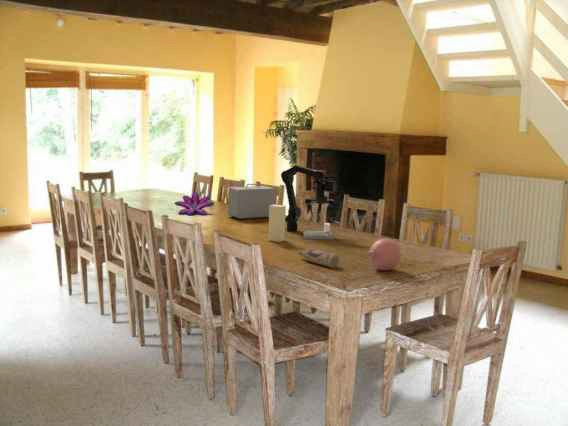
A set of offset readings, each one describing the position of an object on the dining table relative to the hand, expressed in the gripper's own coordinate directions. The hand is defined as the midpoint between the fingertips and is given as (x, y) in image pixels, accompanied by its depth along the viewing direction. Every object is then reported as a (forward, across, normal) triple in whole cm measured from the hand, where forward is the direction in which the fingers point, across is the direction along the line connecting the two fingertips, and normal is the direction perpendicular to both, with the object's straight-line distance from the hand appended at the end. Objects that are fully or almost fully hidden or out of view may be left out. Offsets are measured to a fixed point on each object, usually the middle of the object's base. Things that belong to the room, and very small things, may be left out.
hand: (318, 214), depth 373 cm
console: (+12, 0, -8) cm, 15 cm away
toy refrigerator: (+13, -26, -24) cm, 37 cm away
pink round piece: (+11, +25, -91) cm, 95 cm away
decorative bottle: (+12, -4, -78) cm, 79 cm away
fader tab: (+10, +5, -8) cm, 14 cm away
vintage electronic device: (+15, -45, +60) cm, 77 cm away
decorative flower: (+16, -89, +72) cm, 116 cm away
